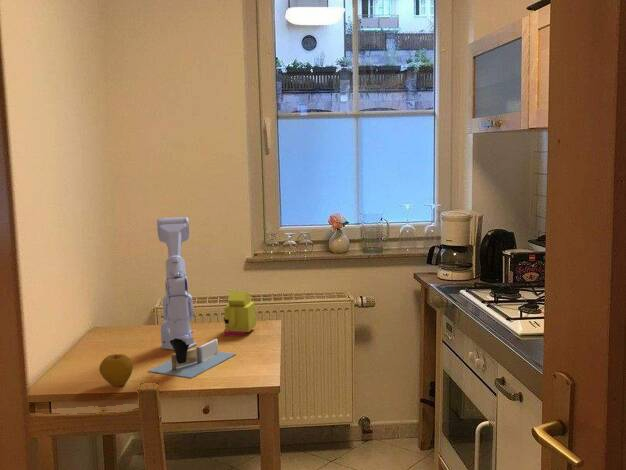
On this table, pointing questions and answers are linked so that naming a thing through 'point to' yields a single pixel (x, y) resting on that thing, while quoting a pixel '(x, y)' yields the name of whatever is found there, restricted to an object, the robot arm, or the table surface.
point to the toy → (239, 314)
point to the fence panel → (190, 359)
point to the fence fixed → (207, 350)
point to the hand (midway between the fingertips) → (181, 362)
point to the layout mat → (192, 366)
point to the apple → (116, 369)
